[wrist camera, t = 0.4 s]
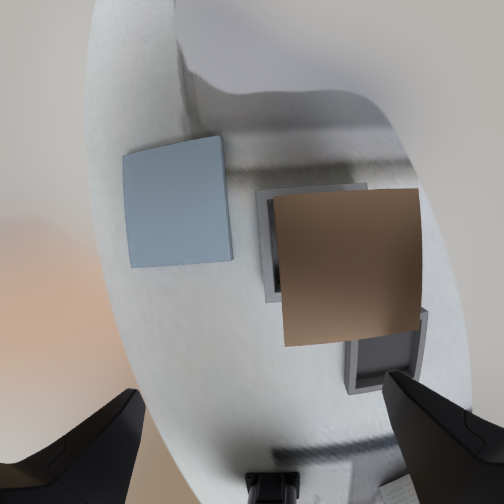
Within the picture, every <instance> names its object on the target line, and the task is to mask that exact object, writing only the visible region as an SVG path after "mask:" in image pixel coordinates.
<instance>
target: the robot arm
mask: <svg viewBox="0 0 504 504" xmlns="http://www.w3.org/2000/svg"><path fill="white" fill-rule="evenodd" d="M382 393H383V397H384V401H385V404H386V408H387V412H388V415H389V419H390V423H391V426H392V429H393V431H394V434H395V437H396V439H397V442H398V444H399V447H400V450H401V452H402V455H403V457H404V460H405V463H406V466H407V468H408V471H409V474H410V477H411V480H412V483H413V486H414V488H415V491H416V494H417V497H418V500H419V504H504V428H503V427H500V426H498V425H495V424H493V423H491V422H488V421H486V420H484V419H481V418H480V417H478V416H476V415H474V414H472V413H471V412H469V411H467V410H464V409H463V408H462V407H460V406H458V405H457V404H455V403H453V402H451V401H450V400H448V399H446V398H445V397H443V396H441V395H439V394H438V393H436V392H434V391H433V390H431V389H429V388H428V387H426V386H424V385H423V384H421V383H419V382H417V381H416V380H414V379H412V378H411V377H409V376H408V375H406V374H404V373H403V372H401V371H399V370H397V369H395V370H390V371H387V372H386V374H385V378H384V382H383V385H382ZM145 409H146V407H145V403H144V401H143V398H142V396H141V394H140V392H139V391H138V390H137V389H131V388H128V389H126V390H125V391H123V392H122V393H121V394H119V395H118V396H117V397H115V398H114V399H113V400H112V401H110V402H109V403H107V404H106V405H105V406H103V407H102V408H101V409H99V410H98V411H97V412H95V413H94V414H93V415H91V416H90V417H89V418H87V419H86V420H85V421H83V422H82V423H80V424H79V425H78V426H76V427H75V428H74V429H72V430H71V431H70V432H68V433H67V434H66V435H64V436H62V437H61V438H59V439H58V440H57V441H55V442H54V443H52V444H51V445H49V446H47V447H46V448H44V449H42V450H41V451H39V452H37V453H35V454H33V455H31V456H29V457H27V458H26V459H24V460H22V461H20V462H17V463H13V464H5V463H0V504H125V500H126V496H127V492H128V488H129V483H130V479H131V476H132V472H133V468H134V464H135V460H136V456H137V452H138V449H139V445H140V441H141V435H142V428H143V421H144V415H145ZM245 480H246V485H247V489H248V494H249V498H248V503H247V504H296V499H298V498H299V488H300V474H299V473H297V472H294V473H246V474H245Z"/></svg>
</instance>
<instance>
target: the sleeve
mask: <svg viewBox="0 0 504 504" xmlns="http://www.w3.org/2000/svg"><path fill="white" fill-rule="evenodd" d="M353 190H368V187H367V183H348V184H330V185H314V186H300V187H288V188H277V189H266V190H256V191H255V192H256V203H257V213H258V224H259V235H260V246H261V256H262V268H263V279H264V290H265V302H266V303H273V302H282V298H281V284H280V283H276V279H275V267H274V255H273V243H272V232H271V221H270V210H269V202H273V196H280V195H292V194H305V193H319V192H334V191H353Z"/></svg>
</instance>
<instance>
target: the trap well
mask: <svg viewBox="0 0 504 504" xmlns="http://www.w3.org/2000/svg"><path fill="white" fill-rule="evenodd" d="M427 322H428V311H427V310H425V309H424V308H422V307H421V313H420V325H419V330H414V331H409V332H403V333H397V334H391V335H385V336H379V337H372V338H365V339H358V340H350V341H346V361H345V381H344V384H345V387H346V390H347V393H348V395H354V394H360V393H367V392H372V391H378V390H382V385H383V382H384V378H385V374H386V372H387V371H390V370H395V369H397V370H399V371H401V372H403V373H404V374H406V375H408V376H409V377H411V378H412V379H414V380H416V381H417V382H419V378H420V372H421V367H422V361H423V354H424V347H425V340H426V331H427Z"/></svg>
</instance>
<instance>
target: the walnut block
mask: <svg viewBox="0 0 504 504" xmlns="http://www.w3.org/2000/svg"><path fill="white" fill-rule="evenodd" d="M273 203H274V214H275V225H276V236H277V247H278V259H279V272H280V284H281V298H282V312H283V327H284V342H285V347H288V346H302V345H313V344H324V343H333V342H342V341H350V340H358V339H365V338H372V337H379V336H385V335H391V334H397V333H403V332H409V331H414V330H419V325H420V313H421V297H422V230H421V214H420V202H419V192H418V188H413V189H375V190H353V191H334V192H319V193H305V194H292V195H280V196H273Z"/></svg>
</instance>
